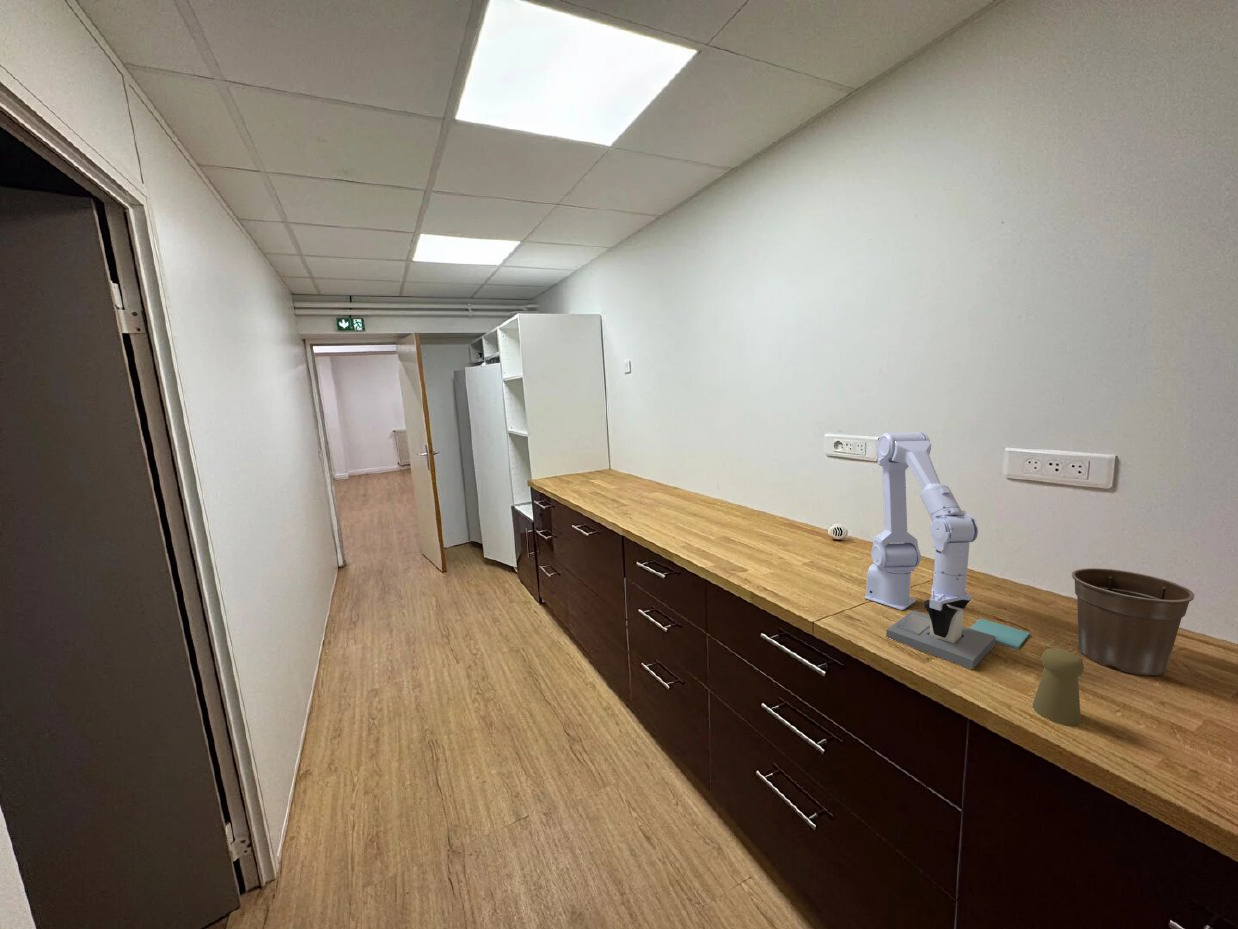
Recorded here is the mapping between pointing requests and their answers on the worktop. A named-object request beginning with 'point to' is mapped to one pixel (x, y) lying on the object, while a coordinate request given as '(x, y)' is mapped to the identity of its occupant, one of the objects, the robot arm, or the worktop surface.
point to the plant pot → (1128, 618)
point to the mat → (1002, 633)
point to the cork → (1059, 687)
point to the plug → (952, 627)
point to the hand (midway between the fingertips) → (945, 630)
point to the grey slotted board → (917, 636)
